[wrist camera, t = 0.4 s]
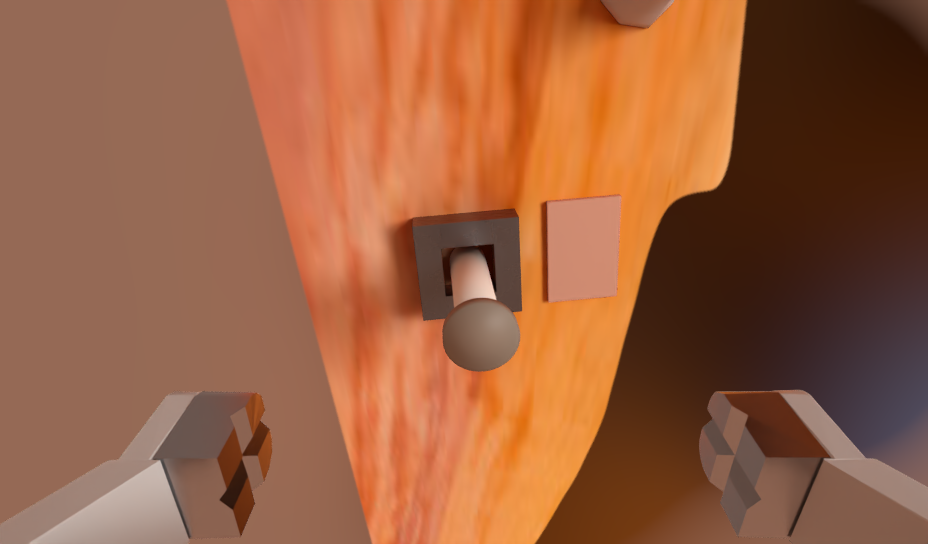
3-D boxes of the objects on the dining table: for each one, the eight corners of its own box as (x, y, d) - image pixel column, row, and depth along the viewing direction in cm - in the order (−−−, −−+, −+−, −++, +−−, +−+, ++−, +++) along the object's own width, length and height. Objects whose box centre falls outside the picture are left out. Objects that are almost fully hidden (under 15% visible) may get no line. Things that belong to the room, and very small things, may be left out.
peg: (436, 235, 58) (439, 308, 42) (494, 230, 58) (518, 300, 43) (441, 288, 61) (446, 375, 45) (497, 283, 61) (521, 367, 45)
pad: (546, 201, 57) (547, 202, 57) (619, 194, 57) (621, 196, 57) (547, 300, 62) (548, 302, 62) (614, 293, 62) (616, 295, 62)
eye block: (413, 217, 57) (412, 226, 54) (514, 208, 57) (518, 217, 55) (423, 308, 62) (423, 320, 59) (517, 299, 62) (521, 311, 59)
